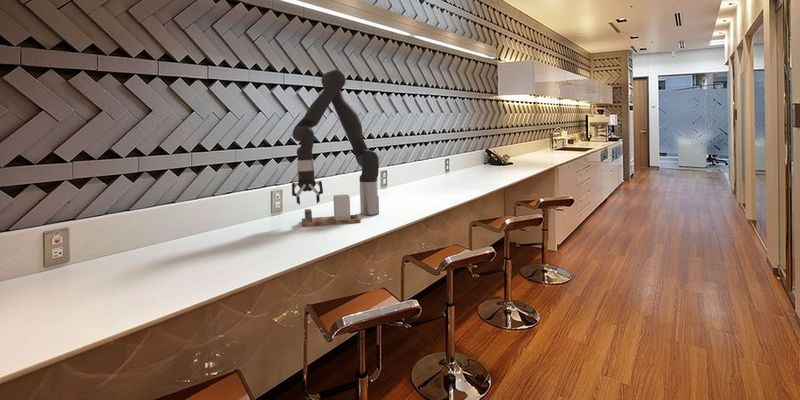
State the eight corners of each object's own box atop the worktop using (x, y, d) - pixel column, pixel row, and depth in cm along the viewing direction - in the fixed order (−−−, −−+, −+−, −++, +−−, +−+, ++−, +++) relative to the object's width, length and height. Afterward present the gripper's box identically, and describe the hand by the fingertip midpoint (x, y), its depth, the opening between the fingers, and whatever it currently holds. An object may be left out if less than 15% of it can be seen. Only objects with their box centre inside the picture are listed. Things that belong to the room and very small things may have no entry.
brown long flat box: (356, 217, 222) (356, 204, 221) (360, 222, 210) (360, 209, 209) (301, 221, 215) (301, 208, 214) (302, 226, 204) (301, 213, 203)
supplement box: (351, 222, 212) (349, 196, 210) (335, 223, 211) (334, 197, 209) (349, 219, 220) (348, 194, 217) (334, 220, 218) (333, 195, 216)
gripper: (320, 167, 211) (322, 201, 214) (290, 169, 208) (292, 203, 210) (321, 169, 204) (324, 203, 207) (290, 171, 200) (293, 206, 203)
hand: (308, 203), depth 209 cm, fingers open, 8 cm apart
